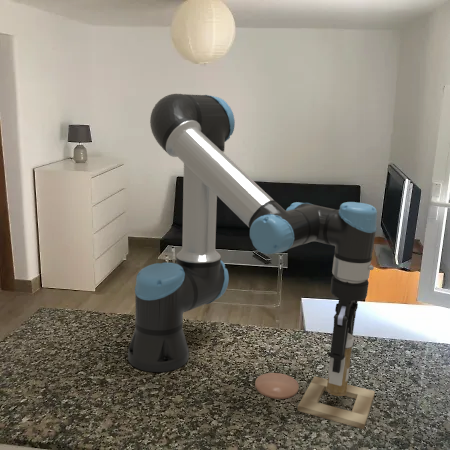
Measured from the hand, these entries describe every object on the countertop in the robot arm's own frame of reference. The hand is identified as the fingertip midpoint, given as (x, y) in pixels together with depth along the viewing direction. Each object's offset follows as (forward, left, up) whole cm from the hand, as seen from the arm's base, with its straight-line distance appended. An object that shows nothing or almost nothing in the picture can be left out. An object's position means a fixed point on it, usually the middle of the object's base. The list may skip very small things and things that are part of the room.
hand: (337, 378), depth 114 cm
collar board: (0, 0, -6) cm, 6 cm away
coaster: (-14, 0, -6) cm, 15 cm away
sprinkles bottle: (0, 0, -3) cm, 3 cm away
